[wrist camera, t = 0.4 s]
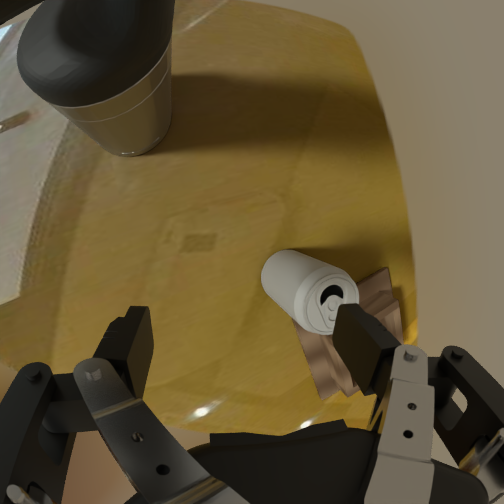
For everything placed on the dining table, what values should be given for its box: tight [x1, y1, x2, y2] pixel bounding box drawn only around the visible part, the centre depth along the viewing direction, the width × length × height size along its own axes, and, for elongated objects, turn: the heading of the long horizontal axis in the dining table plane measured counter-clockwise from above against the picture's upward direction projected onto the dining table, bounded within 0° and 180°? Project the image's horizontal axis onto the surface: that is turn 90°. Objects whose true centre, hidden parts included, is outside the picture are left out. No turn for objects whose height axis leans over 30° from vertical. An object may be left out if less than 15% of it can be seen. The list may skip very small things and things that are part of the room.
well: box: [292, 267, 404, 400], centre depth 37 cm, size 16×16×5 cm
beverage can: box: [261, 250, 359, 335], centre depth 29 cm, size 6×6×12 cm
